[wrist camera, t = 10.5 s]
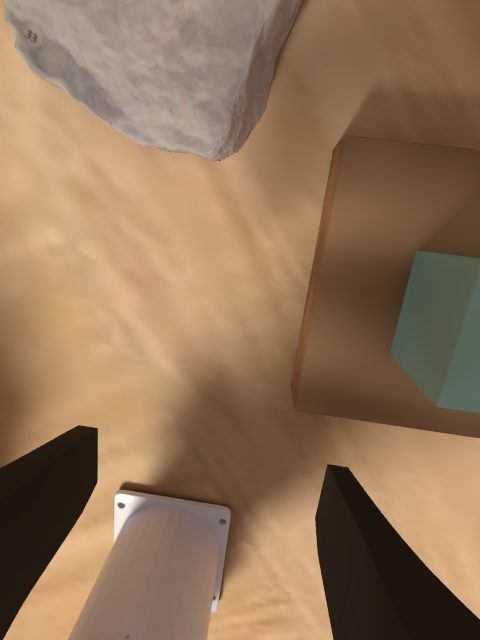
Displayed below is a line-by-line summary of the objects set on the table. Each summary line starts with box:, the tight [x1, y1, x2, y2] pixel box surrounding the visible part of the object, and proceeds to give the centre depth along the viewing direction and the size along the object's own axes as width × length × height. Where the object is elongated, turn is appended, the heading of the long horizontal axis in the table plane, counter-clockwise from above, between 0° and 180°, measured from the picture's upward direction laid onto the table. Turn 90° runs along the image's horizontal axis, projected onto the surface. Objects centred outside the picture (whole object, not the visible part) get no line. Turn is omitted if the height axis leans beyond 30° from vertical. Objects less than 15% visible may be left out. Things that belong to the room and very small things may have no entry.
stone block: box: [4, 0, 303, 161], centre depth 16 cm, size 12×5×10 cm
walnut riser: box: [291, 136, 480, 438], centre depth 18 cm, size 13×13×3 cm
